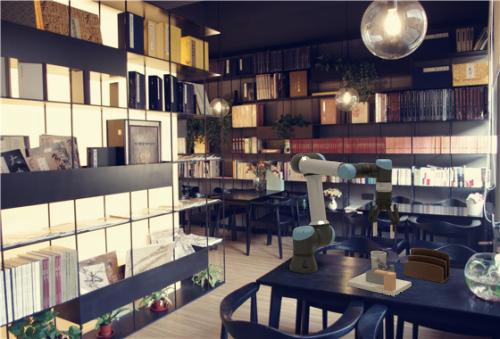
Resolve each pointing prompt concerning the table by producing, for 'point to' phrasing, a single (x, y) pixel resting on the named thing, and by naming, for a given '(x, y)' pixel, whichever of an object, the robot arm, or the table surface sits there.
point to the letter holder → (428, 265)
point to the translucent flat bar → (380, 262)
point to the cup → (380, 255)
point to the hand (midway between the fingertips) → (383, 236)
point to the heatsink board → (378, 287)
